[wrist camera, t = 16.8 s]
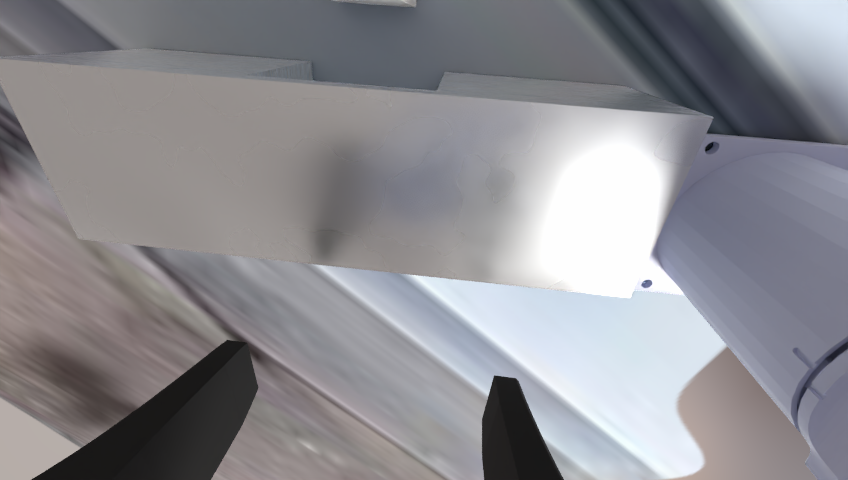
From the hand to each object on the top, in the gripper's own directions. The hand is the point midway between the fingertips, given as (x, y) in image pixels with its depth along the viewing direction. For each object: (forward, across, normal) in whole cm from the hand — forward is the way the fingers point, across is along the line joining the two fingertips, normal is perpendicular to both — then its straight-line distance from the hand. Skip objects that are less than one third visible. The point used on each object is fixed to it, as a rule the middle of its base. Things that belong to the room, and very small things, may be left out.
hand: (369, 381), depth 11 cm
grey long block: (+9, +2, -4) cm, 11 cm away
